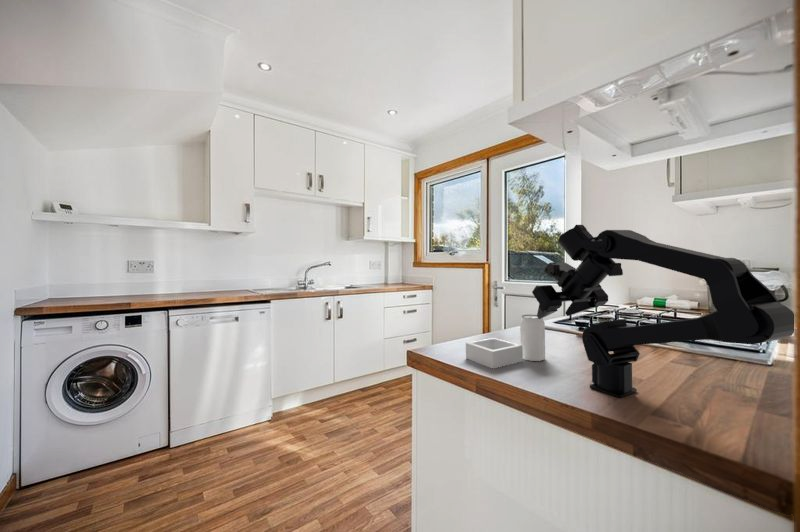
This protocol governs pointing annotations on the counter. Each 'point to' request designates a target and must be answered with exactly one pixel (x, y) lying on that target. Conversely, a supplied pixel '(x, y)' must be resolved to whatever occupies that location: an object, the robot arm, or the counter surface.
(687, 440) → the counter surface
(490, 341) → the box
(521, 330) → the can
